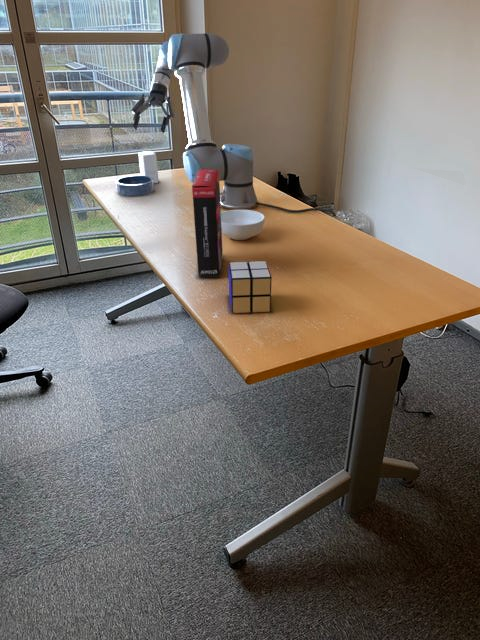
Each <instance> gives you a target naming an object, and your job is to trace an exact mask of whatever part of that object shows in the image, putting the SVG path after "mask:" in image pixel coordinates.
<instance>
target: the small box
mask: <svg viewBox="0 0 480 640" xmlns="http://www.w3.org/2000/svg"><path fill="white" fill-rule="evenodd" d="M137 155H138V163H139V165H138V166H139V173H140V174H139V175H142V176H149V177H151V178H152V179H153V184H158V183H159V182H160V181H159V170H158V159H157V154H156V153H155V152H153V151H152V150H147V151H146V150H145V151H138V152H137Z"/></svg>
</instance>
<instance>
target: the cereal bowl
mask: <svg viewBox="0 0 480 640" xmlns="http://www.w3.org/2000/svg"><path fill="white" fill-rule="evenodd" d="M265 219H266V217H265V215H264V214H263V213H261V212H259V211H257V210H252V209H248V210H229V209H228V210H225V211H224V210H223V211H221V229H222V236H224V237H228V238H230V239H231V240H234V241H244V240H245V241H246V240H249V239H250V238H253V237H255V236H257V235H258V234H260V233H261V232H262V231H263V229H264V227H265V223H266V221H265Z"/></svg>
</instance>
